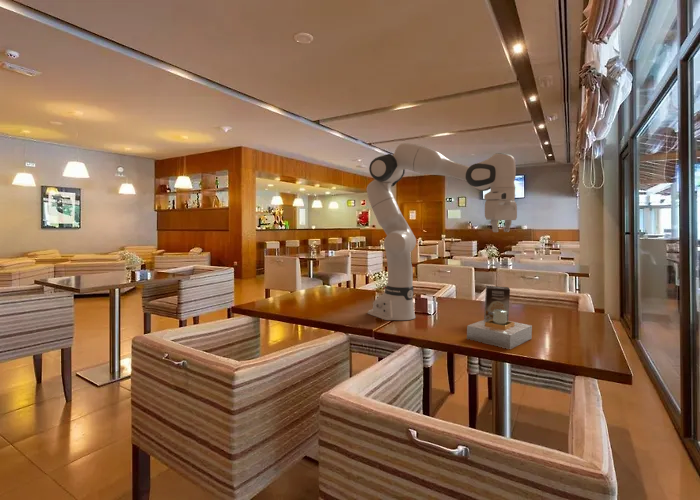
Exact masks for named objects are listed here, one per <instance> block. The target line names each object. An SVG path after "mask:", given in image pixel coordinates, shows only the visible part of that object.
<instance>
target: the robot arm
mask: <svg viewBox="0 0 700 500" xmlns="http://www.w3.org/2000/svg"><path fill="white" fill-rule="evenodd" d="M368 168H369V169H368V171H369V174H370V176H371V177H372V178H373V180H372V181H371V182H369V183H368V184H367V187H366V194H367V198H368V202H369V204H370V207H371V210H372V212H373V214H374V216H375V217H376V221H377V223H378V224H379V226H380V227H381V228H382V230H383V231H384V233H385V235H386V237H384V240H383V247H384V250H385V257H386V262H387V263H386V264H387V285H385V286H383V287H382V290H384V293H382V294H381V295H379V297H377V298H376V299H374V301H373V303H372V305H373V306H372V309H370V310H368V311H367V315H369V316H370V315H371V316H374V317H375V318H379V319H382V320H384V321H410V320H414V319H416V314H415V309H414V299H413V297H414V285H413V281H414V280H413V277H414V272H413V271H414V268H413V265H412V257H411V256H412V255H411V252H412V251H414V249H415V247H416V245H417V238H416V235H414V232H413V230H412V229H411V227H410V226H409V224H408V222H407V220H406V219H405V217H404V216H403V213H402V211H401V210H400V207H399V205H398V203H397V200H396V198H395V195H394V194H393V192H392V191H393V190H392V187H394V186H395V185H396V184H397V183H398V182H399V181H401V180H402V179H403V177H404V176H405V173H406V170H409V171H413V172H416V173H419V174H424V175H433V176H434V175H435V176H444V177H450V178H453V179H457V180H459V181H463V182H466V183H467V184H468V185H469V186H470V187H473V188H474V189H476V190H477V191H480V192H486V191H489V190H490V191H489V192H487V193H485V194H484V196H483V197H484V198H483V199H484V218H485V219H486V220H489V221H490V224H491V227H492V228H491V229H492V232H493V233H498V232H499V229H500V227H498V223H499V221H504V227H503V232H504V233H509V232H510V229H511V225H512V221H516V220H517V218H518V207H517V206H518V205H517V202H516V201H515V197H516V195H515V194H516V185H515V180H516V173H517V172H516V171H517V169H516V168H517V165H516V159H515V157H514V156H513V155H511V154H510V153H509V154H508V153H505V152H504V153H502V152H497V153H494V154H493V155H492V156H490V157H489V158H487V159H485V160H483V161H479V162H477V163H474V164H471V165H470V166H469V165H465V164H462V163H458V162H455V161H452V160H451V159H449V158H448V157H446V156H445V155H443V154H442V153H440V152H439V151H437V150H435V149H433V148H431V147H428V146H425V145H421V144H416V143H410V142H409V143H408V142H407V143H406V142H403V143H400V144H398V146H397V147H396V148H395V151H394V153H393V154H391V153H387V154H384V155H380V156H377V157H375V158H374V159H372V161H371V162H370V164H369V167H368Z"/></svg>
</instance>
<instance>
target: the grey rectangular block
mask: <svg viewBox="0 0 700 500" xmlns="http://www.w3.org/2000/svg"><path fill="white" fill-rule="evenodd" d="M466 326H467V327H466V339H467V340H469V339H470V341H473V340H474V342H477V341H478V343H481V342H482V344H486V345H490V346H493V345H494V347H497V346H498V348H501V347H502V349H505V348H506V350H509V349H510V350H512V349H514V348H516V347H519V346H520V345H523V344H525V343H526V342H528V341H529V340H530V341H531V340H532V335H533V333H532V332H533V325H532V324H526V323H522V322H517V321H511V320H508V321H507V325H505V326H504V325H499V324H494V323H493V318H491V317H490V318H488V319H485V320H484V319H482V320H479V321H476V322H474V323H471V324H468V325H466Z"/></svg>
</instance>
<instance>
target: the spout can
mask: <svg viewBox="0 0 700 500" xmlns="http://www.w3.org/2000/svg"><path fill="white" fill-rule="evenodd" d="M488 314H491V315H493V323H494V324H499V325H504V326H505V325H507V311H506V310H501V309H495V310H494V312H490V311H489V312H488Z"/></svg>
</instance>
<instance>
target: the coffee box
mask: <svg viewBox="0 0 700 500" xmlns="http://www.w3.org/2000/svg"><path fill="white" fill-rule="evenodd" d="M510 294H511V289H510V288H509V287H508V286H496V285H495V286H493V285H485V297H484V298H485V300H484V319H483V320H485V319H488V318H490V317H491V318H493V315H491V314H488V312H489V311H490V312H494V310H495V309H501V310H506V311H507V321H509V317H510V316H509V315H510V297H511V295H510Z"/></svg>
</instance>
